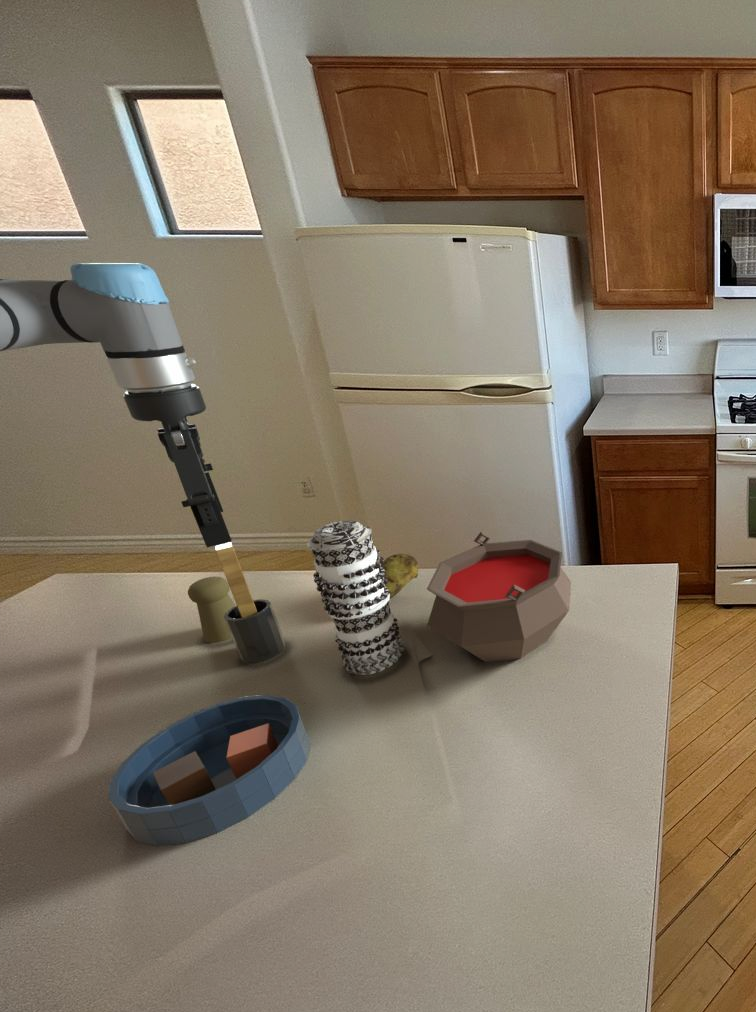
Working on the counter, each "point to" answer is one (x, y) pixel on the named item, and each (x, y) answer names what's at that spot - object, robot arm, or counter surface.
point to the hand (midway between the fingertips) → (215, 527)
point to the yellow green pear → (399, 571)
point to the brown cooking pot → (500, 598)
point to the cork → (212, 607)
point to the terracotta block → (250, 749)
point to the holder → (256, 633)
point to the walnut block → (184, 779)
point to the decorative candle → (356, 596)
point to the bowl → (209, 771)
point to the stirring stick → (236, 579)
